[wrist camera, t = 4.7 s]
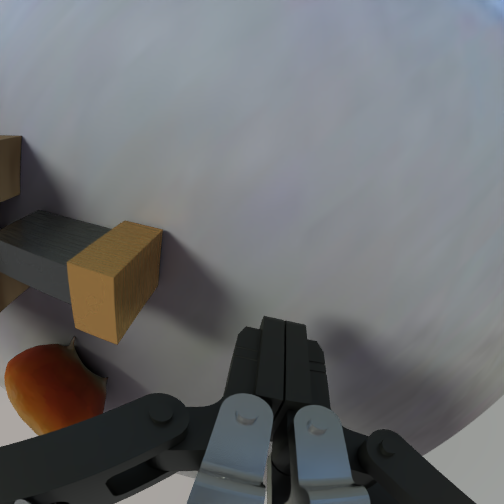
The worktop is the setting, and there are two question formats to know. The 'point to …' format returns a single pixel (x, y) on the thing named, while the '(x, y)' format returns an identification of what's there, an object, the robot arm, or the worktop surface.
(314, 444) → the robot arm
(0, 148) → the socket block
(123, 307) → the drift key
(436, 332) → the worktop surface
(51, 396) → the fruit
